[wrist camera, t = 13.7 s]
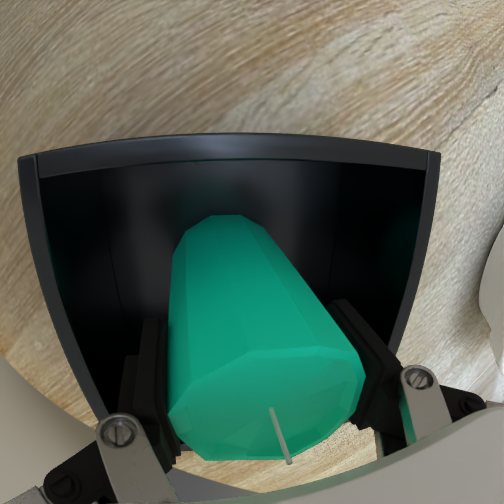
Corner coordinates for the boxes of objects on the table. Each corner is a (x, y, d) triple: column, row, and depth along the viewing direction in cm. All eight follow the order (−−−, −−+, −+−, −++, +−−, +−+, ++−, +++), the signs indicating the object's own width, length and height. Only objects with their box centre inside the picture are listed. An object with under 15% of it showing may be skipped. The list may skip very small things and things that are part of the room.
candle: (184, 202, 15) (187, 384, 4) (290, 226, 17) (434, 378, 6) (164, 301, 17) (161, 502, 6) (259, 315, 19) (332, 489, 8)
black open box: (128, 358, 19) (116, 451, 12) (90, 143, 14) (15, 157, 6) (322, 338, 22) (370, 415, 15) (345, 138, 17) (442, 152, 9)
